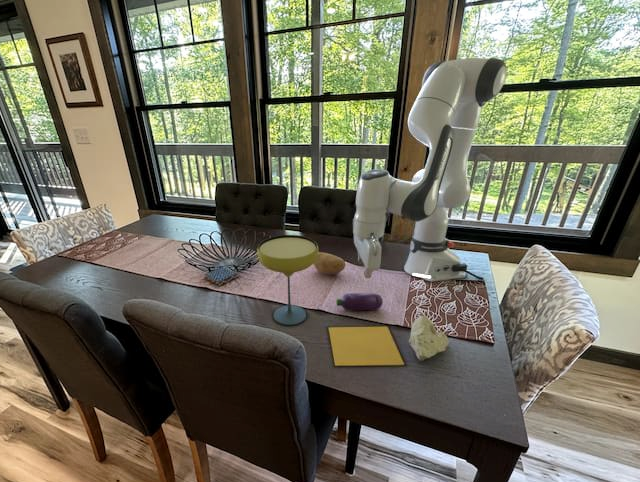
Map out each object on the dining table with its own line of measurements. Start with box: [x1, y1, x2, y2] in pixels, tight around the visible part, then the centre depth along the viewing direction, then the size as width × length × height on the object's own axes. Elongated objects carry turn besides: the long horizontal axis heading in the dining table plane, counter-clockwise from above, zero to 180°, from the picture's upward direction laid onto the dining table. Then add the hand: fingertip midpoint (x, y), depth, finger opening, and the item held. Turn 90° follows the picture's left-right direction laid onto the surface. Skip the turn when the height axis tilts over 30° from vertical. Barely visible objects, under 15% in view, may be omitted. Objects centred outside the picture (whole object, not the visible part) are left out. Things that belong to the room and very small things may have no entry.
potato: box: [313, 251, 347, 275], centre depth 126 cm, size 10×14×8 cm
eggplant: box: [335, 292, 384, 311], centre depth 103 cm, size 15×6×6 cm, turn 88°
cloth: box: [328, 326, 405, 367], centre depth 89 cm, size 18×16×1 cm
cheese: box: [408, 314, 450, 362], centre depth 84 cm, size 15×7×15 cm
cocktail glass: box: [256, 234, 319, 326], centre depth 97 cm, size 18×18×25 cm
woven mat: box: [204, 266, 240, 286], centre depth 128 cm, size 10×11×2 cm
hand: (364, 269), depth 98 cm, fingers open, 8 cm apart
